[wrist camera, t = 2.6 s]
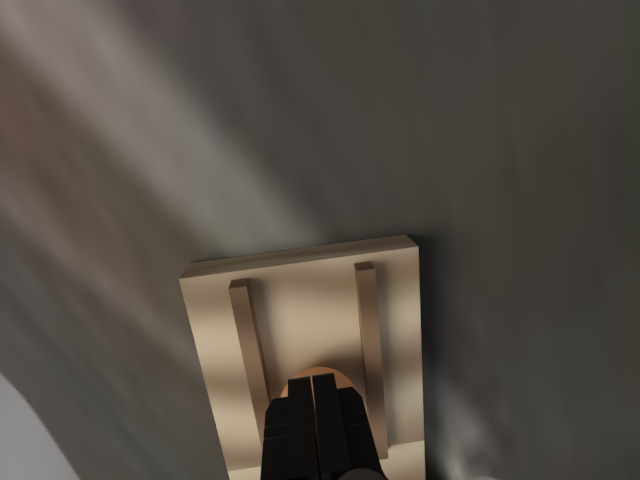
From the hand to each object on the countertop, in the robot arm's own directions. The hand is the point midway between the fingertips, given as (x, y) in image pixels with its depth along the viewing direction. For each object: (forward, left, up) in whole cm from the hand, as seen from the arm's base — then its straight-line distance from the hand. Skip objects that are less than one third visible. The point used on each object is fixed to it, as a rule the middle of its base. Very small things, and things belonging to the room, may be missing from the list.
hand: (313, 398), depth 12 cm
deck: (+11, 0, -13) cm, 17 cm away
